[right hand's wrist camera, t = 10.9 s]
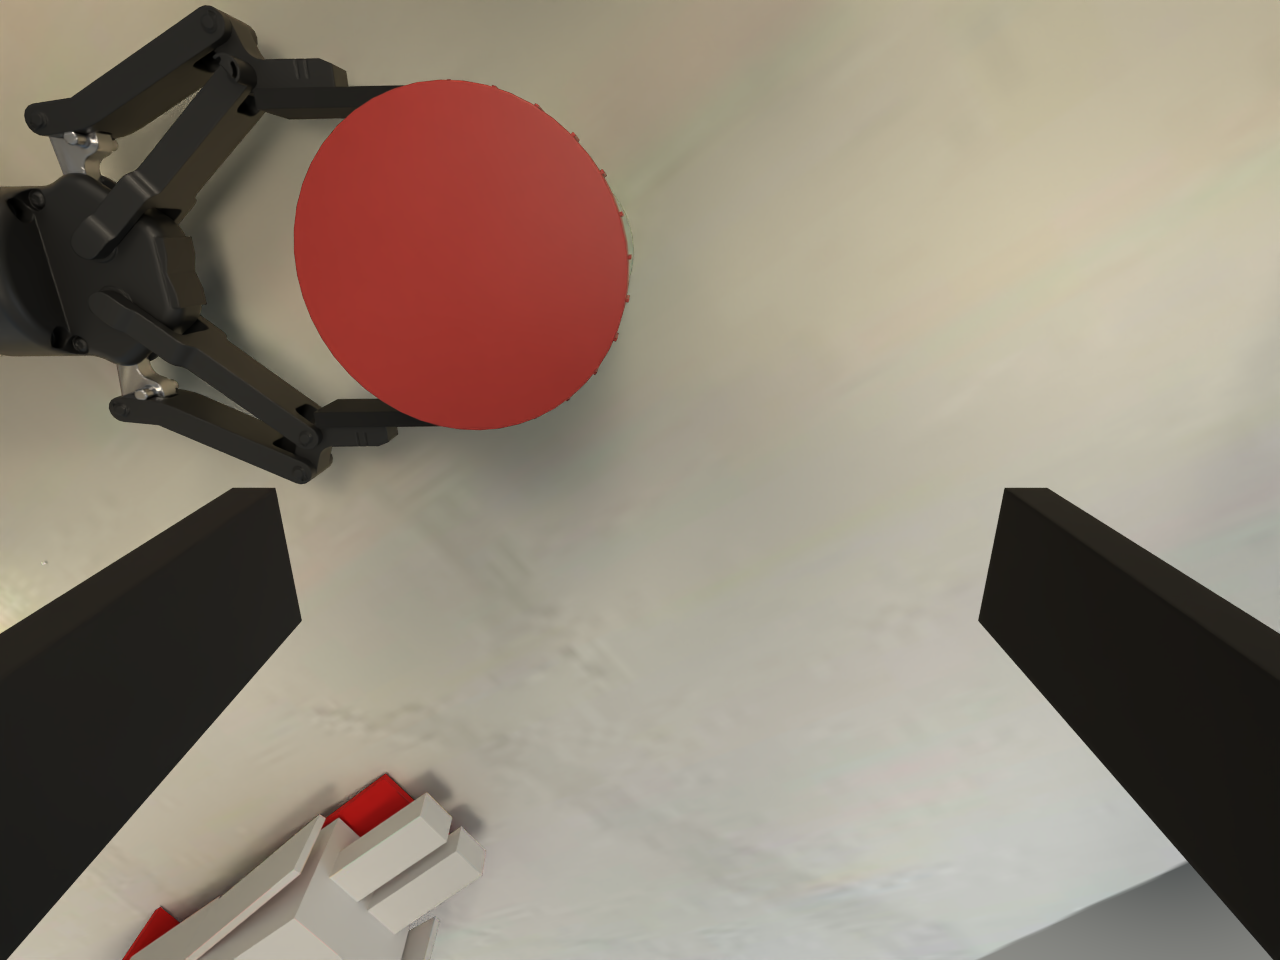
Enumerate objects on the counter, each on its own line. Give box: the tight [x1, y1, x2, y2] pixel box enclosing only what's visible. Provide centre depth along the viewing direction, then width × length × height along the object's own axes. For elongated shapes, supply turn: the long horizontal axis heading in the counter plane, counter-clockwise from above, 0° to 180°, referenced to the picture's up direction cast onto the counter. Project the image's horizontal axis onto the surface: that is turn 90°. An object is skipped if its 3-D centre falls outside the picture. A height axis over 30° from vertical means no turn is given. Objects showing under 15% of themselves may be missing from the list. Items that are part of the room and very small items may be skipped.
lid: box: [294, 79, 632, 430], centre depth 19 cm, size 9×9×2 cm
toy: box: [122, 774, 486, 960], centre depth 48 cm, size 12×13×30 cm
